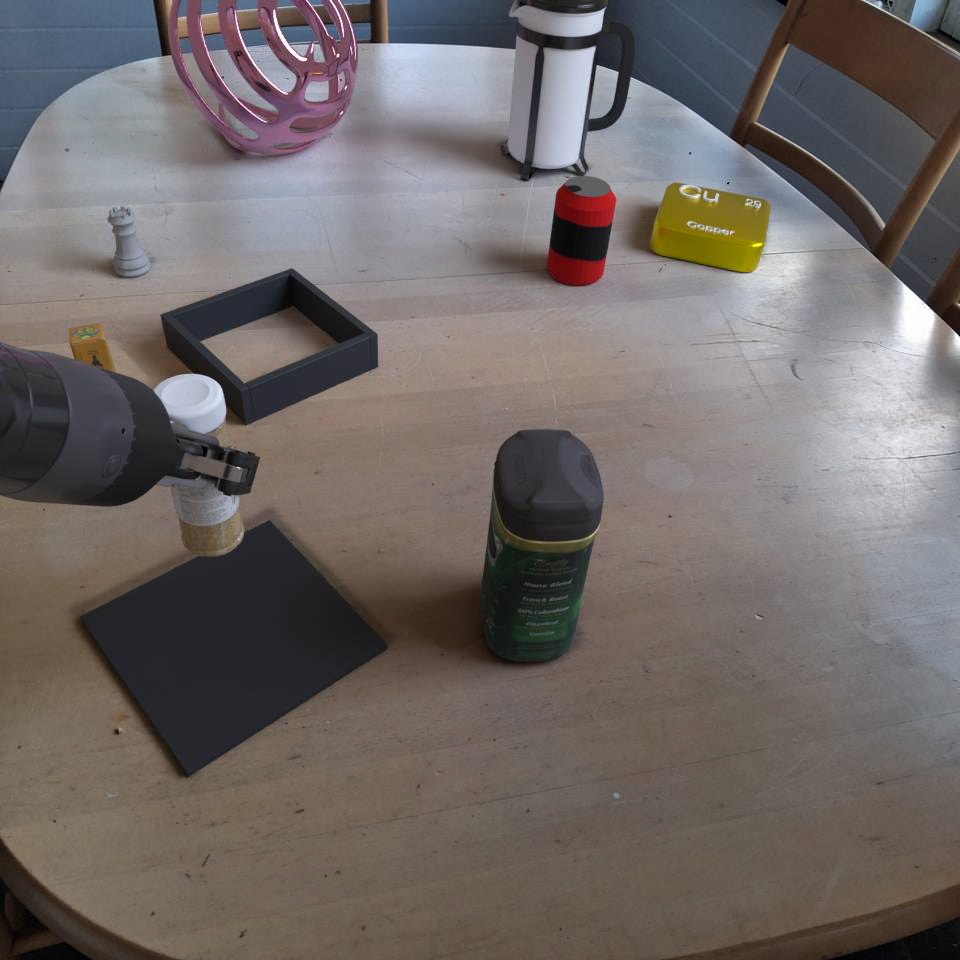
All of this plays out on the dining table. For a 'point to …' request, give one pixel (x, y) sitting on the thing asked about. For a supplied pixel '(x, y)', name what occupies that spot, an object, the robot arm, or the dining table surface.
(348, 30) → the spiral basket
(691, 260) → the element tile
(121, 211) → the rook chess piece
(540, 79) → the coffee press
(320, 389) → the dark grey square frame
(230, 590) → the mat
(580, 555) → the coffee jar
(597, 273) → the soda can
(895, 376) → the dining table surface
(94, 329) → the supplement box
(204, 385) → the sprinkles bottle
